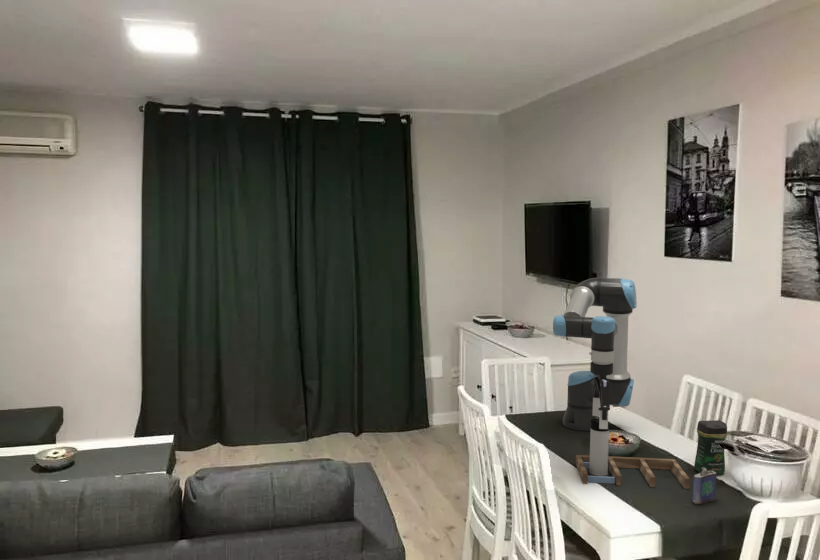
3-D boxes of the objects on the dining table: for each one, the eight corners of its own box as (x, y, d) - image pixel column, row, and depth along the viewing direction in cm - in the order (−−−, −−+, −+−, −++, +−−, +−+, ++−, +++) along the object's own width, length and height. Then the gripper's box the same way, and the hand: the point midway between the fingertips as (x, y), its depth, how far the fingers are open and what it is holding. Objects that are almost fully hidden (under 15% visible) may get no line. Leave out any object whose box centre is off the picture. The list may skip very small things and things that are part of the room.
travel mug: (584, 473, 234) (586, 417, 232) (599, 470, 236) (601, 415, 234) (595, 480, 228) (598, 423, 226) (611, 477, 231) (613, 421, 229)
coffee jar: (703, 476, 231) (705, 424, 230) (690, 468, 239) (693, 417, 237) (729, 475, 233) (732, 423, 231) (716, 467, 240) (718, 416, 239)
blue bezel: (581, 467, 239) (581, 461, 239) (607, 468, 238) (607, 463, 238) (587, 482, 226) (587, 476, 226) (614, 483, 225) (615, 478, 225)
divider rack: (575, 464, 242) (576, 454, 242) (674, 468, 239) (674, 459, 238) (582, 483, 225) (583, 473, 225) (689, 488, 221) (689, 478, 221)
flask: (697, 505, 209) (698, 472, 208) (689, 501, 212) (690, 469, 210) (717, 499, 213) (719, 467, 212) (709, 496, 216) (711, 464, 215)
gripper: (585, 353, 241) (583, 410, 243) (596, 370, 216) (594, 434, 219) (606, 353, 240) (604, 411, 242) (620, 371, 215) (618, 434, 218)
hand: (599, 422), depth 231 cm, fingers open, 13 cm apart
